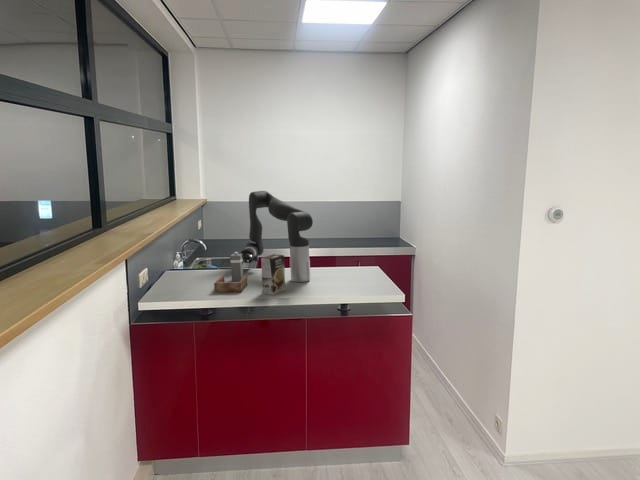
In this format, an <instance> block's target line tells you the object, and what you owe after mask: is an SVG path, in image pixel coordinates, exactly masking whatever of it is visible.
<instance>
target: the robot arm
mask: <svg viewBox="0 0 640 480" xmlns="http://www.w3.org/2000/svg"><path fill="white" fill-rule="evenodd" d="M262 208H267V209H268V213H269V215H271V217H273V218H275V219H276V220H279V221H284V222H286V223H287V224H286V225H287V233H288V234H287V235H288V236H287V237H288V242H289V256H290V257H289V260H290V261H289V262H290V281H291V282H295V283H305V282H310V280H311V259H310V240H309V239H308V238H307V237H303V236H301V235H300V232H303V231H304V232H305V231H309V230H310V229H311V228H312V227H313V224H314V223H313V221H314V220H313V218H312V216H311V214H310V213H309V212H308V211H304V210H302V209H298V208H296V207H295V206H293V205H290V204H289V203H286V202H285V201H283V200H281V199H278V198H277V197H275V196H273V195H272V193H270V192H268V191H266V190H257V191H251V192H250V193H249V195H248V211H249V214H248V215H249V224H250V226H249V235H248V237H249V240H250V241H249V242H247V243H246V244H245V248H244V249H242V250H241V251H240V253H239V254H242V258H243V260H242V263H244V264H251V263H253V262H255V263H256V262H258V261H259V260H260V259H259V256H262V255H263V253H264V244H263V237H262V236H263V224H262V222H261V221H260V219H259V217H258V215H257V209H262ZM229 260H231V256H230V257H229Z"/></svg>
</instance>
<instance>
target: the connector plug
mask: <svg viewBox="0 0 640 480" xmlns="http://www.w3.org/2000/svg"><path fill="white" fill-rule="evenodd" d="M230 257H231V260H230V259H229V260H230V261H229V262H230V269H231V272H230V273H231V282H240V281H241V280H242V278H243V277H244V271H243V270H244V267H243V265H244V264H243V262H242V260H243V258H242V254H240V253H239V252H238V251H234V253H231V255H230Z"/></svg>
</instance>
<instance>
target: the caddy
mask: <svg viewBox="0 0 640 480" xmlns="http://www.w3.org/2000/svg"><path fill="white" fill-rule="evenodd" d="M213 285H214V293H215V294H221V293H222V294H225V293H226V294H227V293H228V294H232V293H233V294H234V293H235V294H238V293H242V292H244V290H245V289H246V288H247V286H248V275H243V278H242V280H241V281H240V282H232V281H231V282H230V281H229V282H226V281H225V275H221V276H220V277H219V278H218V279H217V280H216V281H215V282H214V283H213Z"/></svg>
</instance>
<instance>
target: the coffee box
mask: <svg viewBox="0 0 640 480" xmlns="http://www.w3.org/2000/svg"><path fill="white" fill-rule="evenodd" d="M260 260H261V261H260V263H261V266H260V267H261V286H262V287H261V288H262V289H261V290H262V292H261V293H263V294H267V295H271V296H273V295H277V294H279V293H281V292H283V291H286V276H285V255H284V254H275V253H274V254H270V255H266V256H263V257H260Z"/></svg>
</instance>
